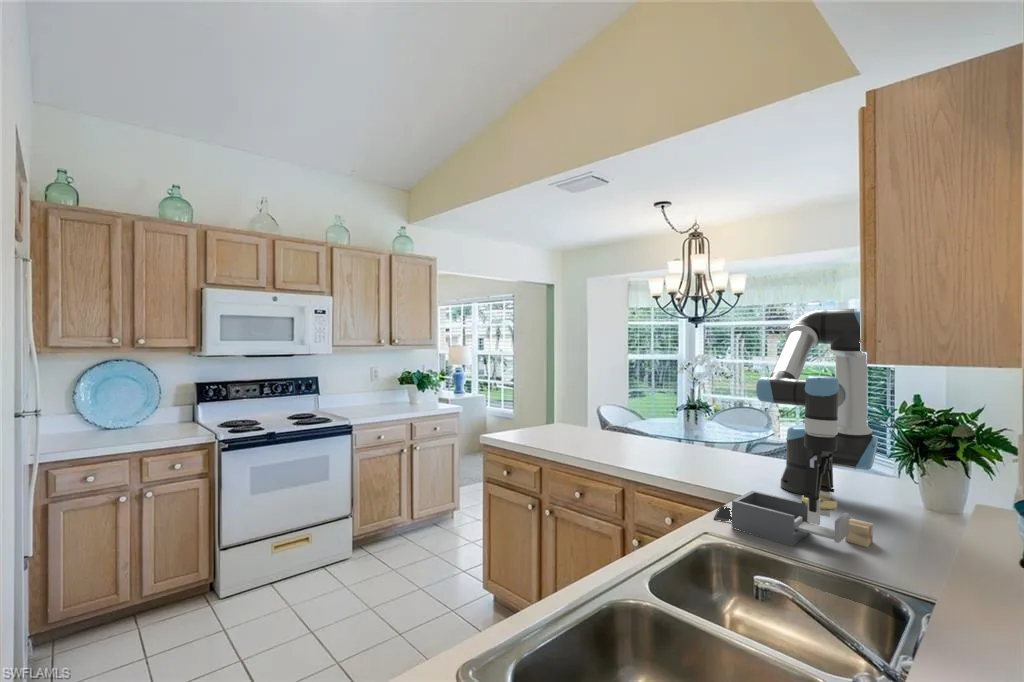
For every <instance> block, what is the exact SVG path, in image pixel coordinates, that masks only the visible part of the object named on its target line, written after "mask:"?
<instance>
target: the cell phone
mask: <svg viewBox="0 0 1024 682" xmlns="http://www.w3.org/2000/svg"><path fill="white" fill-rule="evenodd" d="M724 507H726V508H725V509H724ZM727 507H728V506H727V505H719V507H718V509H717V511H716V513H715V515H714V517H713V520H714V521H716V520H721V521H729V519H730V521H731V520H732V517H731V516H730V515H731V514H730V511H729V510H731V509H730V508H727ZM718 510H719V511H718ZM731 512H732V511H731ZM721 521H720V522H721ZM731 522H732V521H731Z"/></svg>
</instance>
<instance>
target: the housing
mask: <svg viewBox="0 0 1024 682" xmlns="http://www.w3.org/2000/svg"><path fill="white" fill-rule="evenodd" d="M731 507H732V524H731V528H732V527H733V528H736V529H739V530H741V531H740V532H742V531H745V532H747V533H746V534H749V533H751V534H750V535H752V534H754V535H753V536H755V535H757V536H756V537H759V536H761V537H760V538H762V537H763V539H765V538H767V539H766V540H769V539H770V541H772V540H773V541H772V542H775V541H776V543H780V544H783V545H786V546H789V547H794V546H795V545H796V544H797V543H799V542H800V541H801V540H802V539H804V537H806V536H808V535H809V533H807V532H804V531H800V530H796V529H794V520H795V519H796V518H798V517H799V516H800V517H803V519H802V521H803V522H807V513H808V507H807V506H805V505H803V504H802V501H797V500H794V499H789V498H787V497H782V496H776V495H773V494H769V493H765V492H764V493H763V492H760V491H757V490H751V491H748V492H747V493H744V494H743V495H741V496H739V497H737V498H735V499H734V500H732V501H731ZM807 523H809V522H807ZM739 530H738V531H739ZM745 532H744V533H745Z"/></svg>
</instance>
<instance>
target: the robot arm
mask: <svg viewBox="0 0 1024 682" xmlns="http://www.w3.org/2000/svg"><path fill="white" fill-rule="evenodd" d="M860 309H861V308H840V309H839V308H837V309H816V310H812V311H809V312H807V313H805V314H803V315H801V316H799V317H798V318H797V319H796V320H794V322H792V323H791V324H790V325H789V327H788V328H787V330H786V332H785V337H784V338H785V343H784V345H783V347H782V349H781V351H780V354H779V356H778V358H777V361H776V362H775V364H774V366H773V369H772V372H771V374H770V376H766V377H764V376H763V377H760V378H758V380H757V381H756V388H755V389H756V391H755V392H756V398H757V399H758V401H760V402H762V403H763V402H765V403H770V404H778V405H779V404H781V405H789V406H790V405H793V406H800V407H801V406H802V407H804V419H803V420H802V423H803V424H796V425H792V426H791V425H790V426H789V427H788V428H787V431H786V438H785V440H786V450H785V451H786V453H785V454H786V462H785V464H786V465H785V469H784V471H783V472H782V475H781V478H780V483H779V484H780V485H781V486H780V485H779V486H780V488H781V487H782V489H783V488H784V489H786V490H785V491H787V490H788V491H787V492H789V491H791V492H790V493H793V492H794V493H793V494H797V495H801V496H803V495H804V497H806V498H808V513H807V522H809V523H811V524H815V525H818V526H821V516H823V517H827V518H830V517H831V511H826V510H820V499H819V495H821V496H825V497H829V498H831V493H835V489H834V472H833V471H834V469H833V466H837V467H843V468H849V469H853V470H862V471H868V470H871V469H872V467H874V461H875V458H876V454H877V450H878V443H879V442H878V441H879V438H878V436H876V435H873V430H872V428H871V427H870V426H868V425H867V424H868V423H867V422H868V417H867V416H868V414H867V413H868V363H867V364H866V354H865V353H862V352H861V351H860V343H859V340H860ZM817 344H823V345H824V344H826V345H828V344H829V345H830V351H832V352H833V353H834V354H835V376H830V375H809V376H807V377H806V378H805V379H800V377H801V374H802V372H803V369H804V367H805V365H806V362H807V359H808V356H809V355H810V352H811V349H813V348H814V347H816V345H817ZM784 489H783V490H784Z"/></svg>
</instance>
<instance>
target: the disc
mask: <svg viewBox="0 0 1024 682" xmlns="http://www.w3.org/2000/svg"><path fill="white" fill-rule="evenodd" d="M819 499H820V510H826V511H830V512H831V511H836V510H837V509H838V501H837V500H836V499H834V498H832V497H830V498H829V497H825V496H821V495H819ZM801 502H802V504H803V505H805V506H807V507H808V498H806V497H804V495H801Z"/></svg>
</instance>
